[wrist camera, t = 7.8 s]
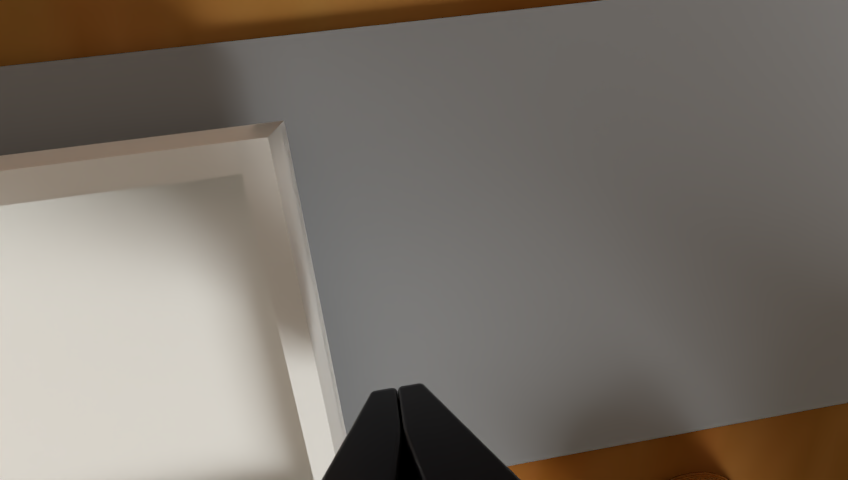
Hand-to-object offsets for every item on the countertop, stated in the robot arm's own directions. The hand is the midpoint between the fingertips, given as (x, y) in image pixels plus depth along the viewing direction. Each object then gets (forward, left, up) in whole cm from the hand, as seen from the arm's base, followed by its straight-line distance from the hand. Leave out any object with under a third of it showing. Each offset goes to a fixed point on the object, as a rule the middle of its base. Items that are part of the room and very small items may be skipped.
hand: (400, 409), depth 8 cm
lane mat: (-1, 0, -5) cm, 5 cm away
